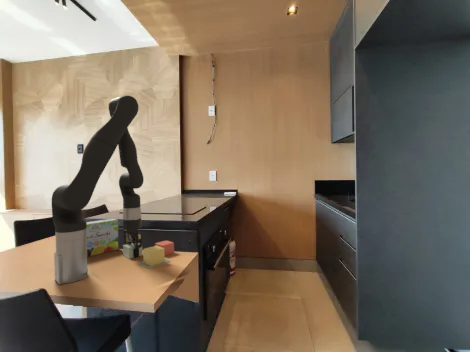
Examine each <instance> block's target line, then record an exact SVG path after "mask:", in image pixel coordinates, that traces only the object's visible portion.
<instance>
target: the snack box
mask: <svg viewBox="0 0 470 352" xmlns="http://www.w3.org/2000/svg"><path fill="white" fill-rule="evenodd" d="M86 223H87V258H88V257H91V256H96V255H100V254H103V253H108V252H112V251H116V250H119V219H116V218H109V219H108V218H107V219H100V220H94V221H92V220H91V221H88V222H87V221H86Z"/></svg>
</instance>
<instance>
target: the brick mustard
mask: <svg viewBox="0 0 470 352" xmlns="http://www.w3.org/2000/svg"><path fill="white" fill-rule="evenodd" d="M142 253H143V255H142V256H143V261H144V263H146V264H148V265H150V266H153V265H156V264H159V263H162V262H165V259H166V258H165V256H166V255H164V248H162V247H159V246H155V245H154V246H149V247H144V248H142Z"/></svg>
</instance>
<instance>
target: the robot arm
mask: <svg viewBox="0 0 470 352" xmlns="http://www.w3.org/2000/svg"><path fill="white" fill-rule="evenodd" d="M108 113H109V116H110V118H109V119H108V120H107V122H106V123H104V124H103V125H102V126H101V127H99V129H98V130H97V131H95V133H94V134H93V135H92V136H91V137H90V139H89V141H88V142H87V145H86V146H85V148H84V150H83V153H82V157H81V163H80V164H81V165H80V167H79V170H78V172H77V174H76V175H75V177H74V178H73V179H72V181H71V182H70V183H69V184H64V185H60V186H58V187H57V188H56V189H54V191H53V192H52V196H51V214H52V223H53V225H54V230H55V231H54V232H55V235H54V236H55V252H53V253H54V254H53V256H54V257H53V258H54V281H56V283H57V284H58V285H62V284H69V283H74V282H78V281H81V280H84V279H85V278H86V277H88V270H89V269H88V257H87V223H86V222H87V220H86V219H85V218H84V217H83V213H82V210H83V209H85V208H86V207H87V205H88V204H89V203H90V200H91V198H92V196H93V193H94V191H95V188H96V186H97V184H98V181H99V180H100V178H101V175H103V172H104V171H105V169H106V167H107V165H108V164H109V162H110V160H111V158H112V157H113V155H114V153H115V151H116V148H118V154H119V163H120V166H121V167H122V168H125V169H126V171H127V172H124V173H122V174H121V175H120V176H119V180H118V185H119V190H120V194H121V196H122V206H123V207H122V209H123V210H122V229H123V232H122V233H123V243H124V245H127V244H132V245H133V256H134V258H139V257H140V256H139V248H140V247H142V248H143V233H140V232H139V229H141V228H142V208H141V195H139V193H136V192H135V190H136V189H140V188H141V187H142V186H143V184H144V181H145V180H144V174H143V172H142V169H141V166H140V164H139V162H138V161H139V160H138V152H137V147H136V146H137V145H136V143H135V142H134V139H133V138H132V136H131V134H130V132H129V126H130V125H131V123H132V122H133V121H134V119H135V118H136V116H137V115H138V113H139V103H138V101H137V99H136V98H135V97H134V96H131V95H121V96H117V97H114V98H112V99H110V101H109V102H108Z"/></svg>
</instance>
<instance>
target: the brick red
mask: <svg viewBox="0 0 470 352" xmlns="http://www.w3.org/2000/svg"><path fill="white" fill-rule="evenodd" d="M154 246H159V247H162V248H164V255H165V256H168V255H171V254H175V242H173V241H170V240H168V239H167V240H162V241H158V242H155V243H154Z"/></svg>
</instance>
